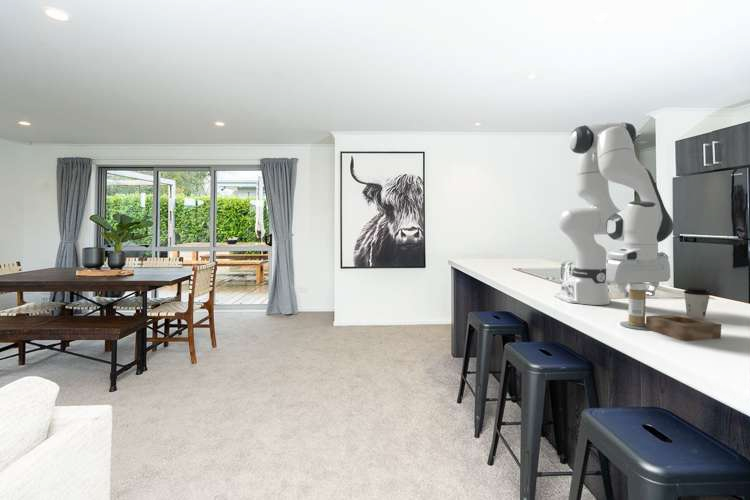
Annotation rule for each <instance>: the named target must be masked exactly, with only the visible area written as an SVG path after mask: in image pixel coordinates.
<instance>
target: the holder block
mask: <svg viewBox="0 0 750 500" xmlns="http://www.w3.org/2000/svg"><path fill="white" fill-rule="evenodd" d="M645 323H646V328H649V329H650V330H649V331H652V332H654V333H656V334H661V335H665V336H667V337H671V338H673V339H677V340H679V341H684V342H687V341H701V340H714V339H715V340H717V339H722V323H718V322H714V321H709V320H705V319H697V318H693V317H689V316H687V315H684V314H681V313H679V314H677V313H676V314H675V313H674V314H661V315H660V314H659V315H645Z"/></svg>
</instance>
